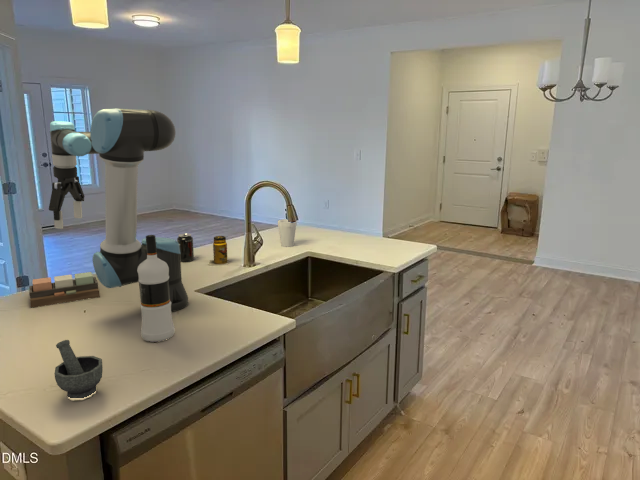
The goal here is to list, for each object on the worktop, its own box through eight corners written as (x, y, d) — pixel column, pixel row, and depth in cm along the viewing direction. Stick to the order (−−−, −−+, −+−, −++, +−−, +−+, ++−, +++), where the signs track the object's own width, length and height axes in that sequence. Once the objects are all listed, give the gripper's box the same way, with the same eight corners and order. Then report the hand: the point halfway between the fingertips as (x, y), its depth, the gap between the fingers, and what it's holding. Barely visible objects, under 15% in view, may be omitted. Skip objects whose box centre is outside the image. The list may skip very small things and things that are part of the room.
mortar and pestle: (114, 389, 108) (109, 341, 105) (76, 410, 100) (70, 358, 97) (83, 377, 113) (77, 331, 111) (45, 395, 105) (38, 346, 103)
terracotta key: (52, 289, 162) (51, 281, 161) (33, 292, 159) (32, 284, 159) (51, 284, 167) (50, 277, 166) (33, 287, 164) (32, 279, 164)
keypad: (99, 297, 167) (98, 284, 166) (31, 307, 157) (29, 295, 156) (95, 286, 178) (94, 275, 177) (31, 296, 168) (29, 284, 167)
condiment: (228, 264, 208) (226, 238, 205) (208, 265, 206) (207, 238, 204) (228, 260, 215) (227, 234, 212) (209, 260, 214) (208, 235, 211)
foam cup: (274, 246, 240) (274, 221, 237) (283, 242, 248) (283, 218, 245) (291, 248, 236) (291, 223, 233) (299, 244, 244) (299, 220, 241)
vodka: (166, 344, 131) (158, 239, 124) (135, 342, 132) (125, 238, 125) (180, 330, 140) (173, 232, 133) (151, 328, 141) (142, 231, 134)
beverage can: (196, 258, 217) (194, 233, 214) (190, 262, 210) (189, 236, 207) (181, 258, 217) (180, 233, 215) (176, 262, 211) (174, 236, 208)
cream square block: (73, 286, 165) (72, 278, 165) (55, 289, 162) (54, 281, 162) (72, 281, 170) (71, 274, 170) (54, 284, 168) (54, 276, 167)
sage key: (93, 283, 168) (92, 276, 168) (76, 286, 166) (75, 278, 165) (92, 279, 173) (91, 271, 173) (75, 281, 171) (74, 274, 170)
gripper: (72, 159, 179) (76, 213, 186) (33, 171, 156) (39, 231, 162) (92, 161, 179) (95, 214, 186) (56, 173, 156) (61, 234, 162)
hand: (69, 223), depth 174 cm, fingers open, 13 cm apart
